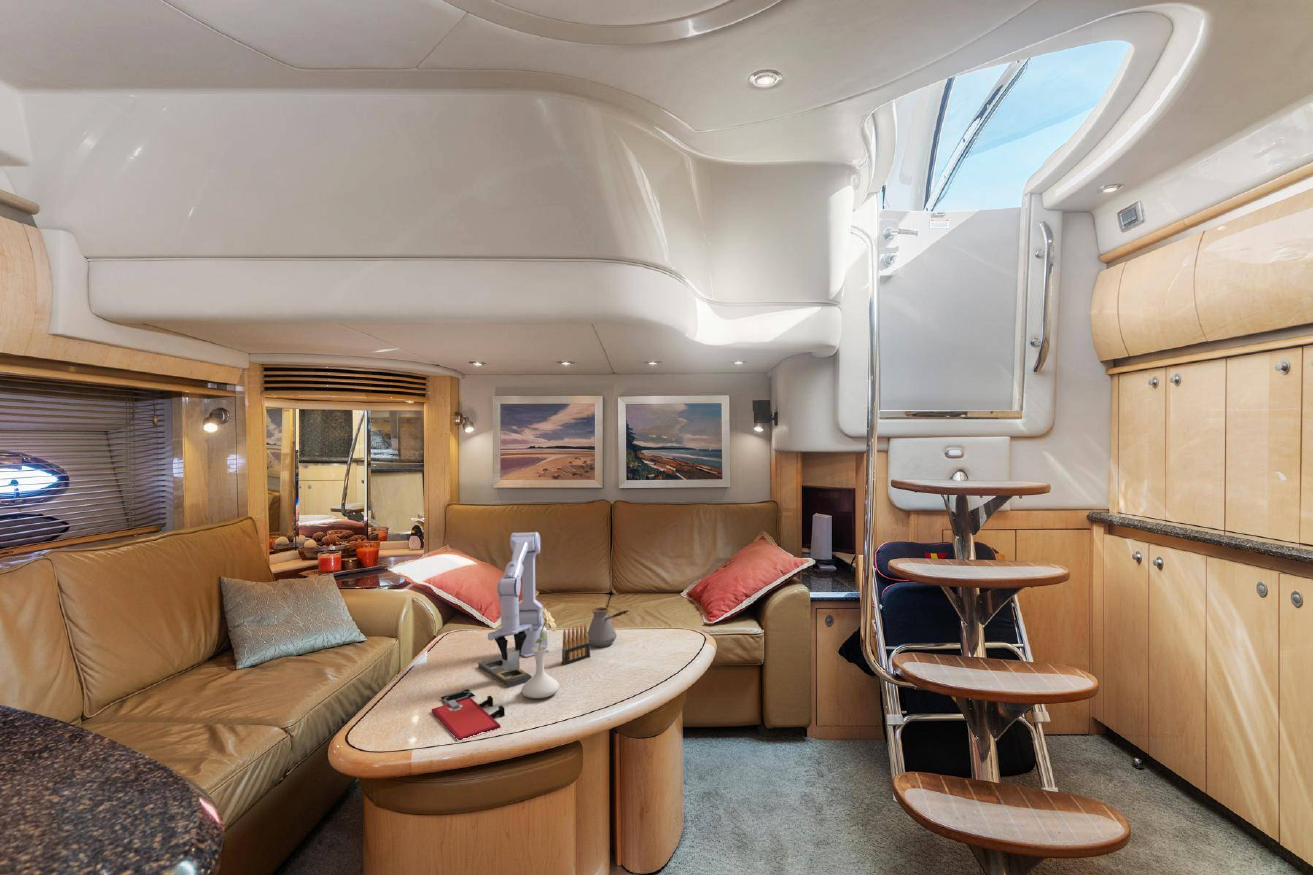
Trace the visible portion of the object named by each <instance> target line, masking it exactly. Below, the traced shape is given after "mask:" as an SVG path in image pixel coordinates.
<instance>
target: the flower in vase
mask: <svg viewBox="0 0 1313 875" xmlns="http://www.w3.org/2000/svg"><path fill="white" fill-rule="evenodd" d="M551 614H552V613H551V612H550V611H548V610H547V608H546V607H544V608H543V609H542V615H543V618H544V623H543V627H542V630H541V634H540V639H537V641H536V642H535V643H539V646H535V647H533V648H531V651H532V652H533V653H534V655H533V656H534V658H535V673H534V675H532V678H530V679H529V680H528V681H527V682H526V683H523V686H522V688H521V693H522V695H523V696H524V697H527V698H529V699H544V698H547V697H550V696H553V695H555V694H556V693H557V692H558V691H559V690H560V688H561V687H560V684H559V682H558V681H557V680H556V679H555V678H554V677H552V676H550V675H548V673H546V672H545V666H544V664H545V663H544V662H545V655H546V650H547V649H548V650H549V648H548V647H547V646H540V643H541V642H542V641H543V640H541V637H542V639H544V640H546V639H547V640H548V634H547V635H546V633H544V632H542V631H543V628H544V626H545V627H546V626H547V627H548V628H549V630H550V631H551V632H552V633H553V632H556V631H557V630H556V628H557V624H556V623H555V619H554V618H553V617H552V615H551Z"/></svg>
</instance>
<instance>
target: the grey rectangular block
mask: <svg viewBox="0 0 1313 875" xmlns="http://www.w3.org/2000/svg"><path fill="white" fill-rule="evenodd" d="M503 669H504V670H506V671H507V672H510V671H513V670H517V669H521V667H520V657H519V650H518V649H516V648H515V646H513V647H512V646H511V647H507V660H503Z"/></svg>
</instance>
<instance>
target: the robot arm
mask: <svg viewBox="0 0 1313 875" xmlns="http://www.w3.org/2000/svg"><path fill="white" fill-rule="evenodd" d="M509 545H510V546H509V547H510V548H511V551H512V555H511V560H510V561H509V562H508V563H506V566H505V569H504V573H503V576H502V578H501V579H499V580H498V581H497V587H496V589H497V590H496V591H497V596H498V602H499V603H500V627H501V628H500V629H498V630H497V629H496V630H494V631H492V632H488V633H487V640H488V641H495V643H496V644H497V646H498V649H499V651H500V654H501V655H500V656H501V657H502V659H503V660H507V648H508V642H509V640H508V639H506V637H508V636H513V639H514V647H515V648H516V649H518V650H519V658H520V657H524V658H528V657H531V656H535V655H534V653H533V652H532V651H531V648H533V647H535V646H539V643H535V642H536V641H537V639H540V634H541V630H542V627H543V625H544V623H545V620H544V618H543V615H542V609H544V606H543V604H542V603H541V602H539V600H537V599H536V558H537V555H539V554H540V553H541V535H540V534H539V531H538V532H537V531H534V532H512V533H511V535H510V538H509ZM521 589H522V590H521ZM520 593H521V600H522V601H520V602H519V599H520V598H519V596H520ZM542 632H544V633H546V635H547V636H548V630H547V628H546V625H545V626H544V628H543V631H542ZM541 640H543V641H542V642H541V643H540V646H547V647H548V642H549V641H548V638H547V639H546V640H544V639H542V637H541ZM549 651H550V650H549V648H548V649H547V650H546V652H549ZM546 652H545V653H546Z"/></svg>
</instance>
